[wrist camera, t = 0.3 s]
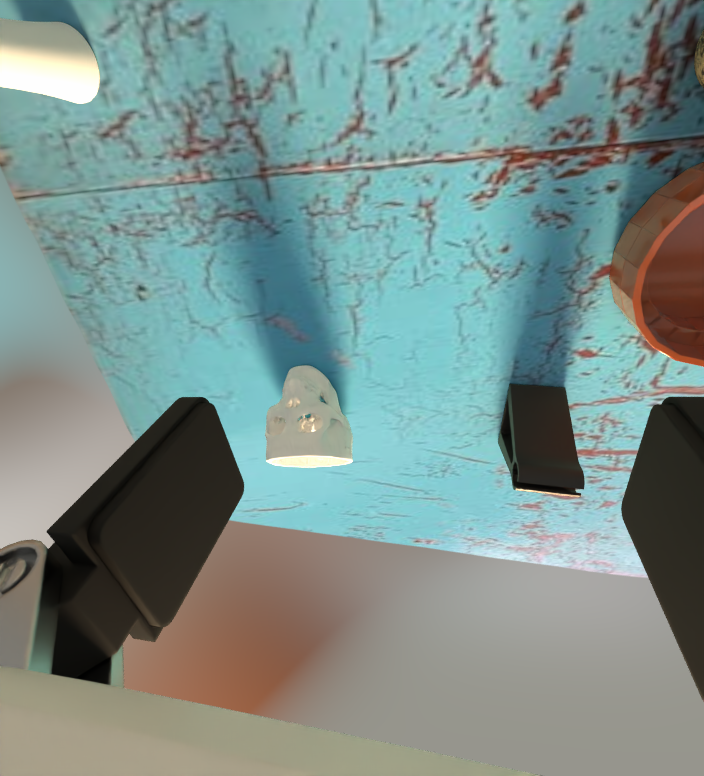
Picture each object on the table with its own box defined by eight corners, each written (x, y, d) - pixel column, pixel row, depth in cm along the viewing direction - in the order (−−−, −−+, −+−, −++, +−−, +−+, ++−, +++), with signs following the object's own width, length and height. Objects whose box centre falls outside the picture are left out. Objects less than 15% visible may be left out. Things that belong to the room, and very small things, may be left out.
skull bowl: (332, 351, 48) (326, 451, 42) (365, 397, 60) (363, 479, 54) (254, 362, 51) (240, 456, 45) (300, 403, 63) (293, 482, 57)
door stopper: (546, 445, 51) (570, 523, 41) (497, 441, 52) (508, 515, 42) (565, 386, 46) (596, 458, 36) (509, 382, 47) (525, 450, 37)
